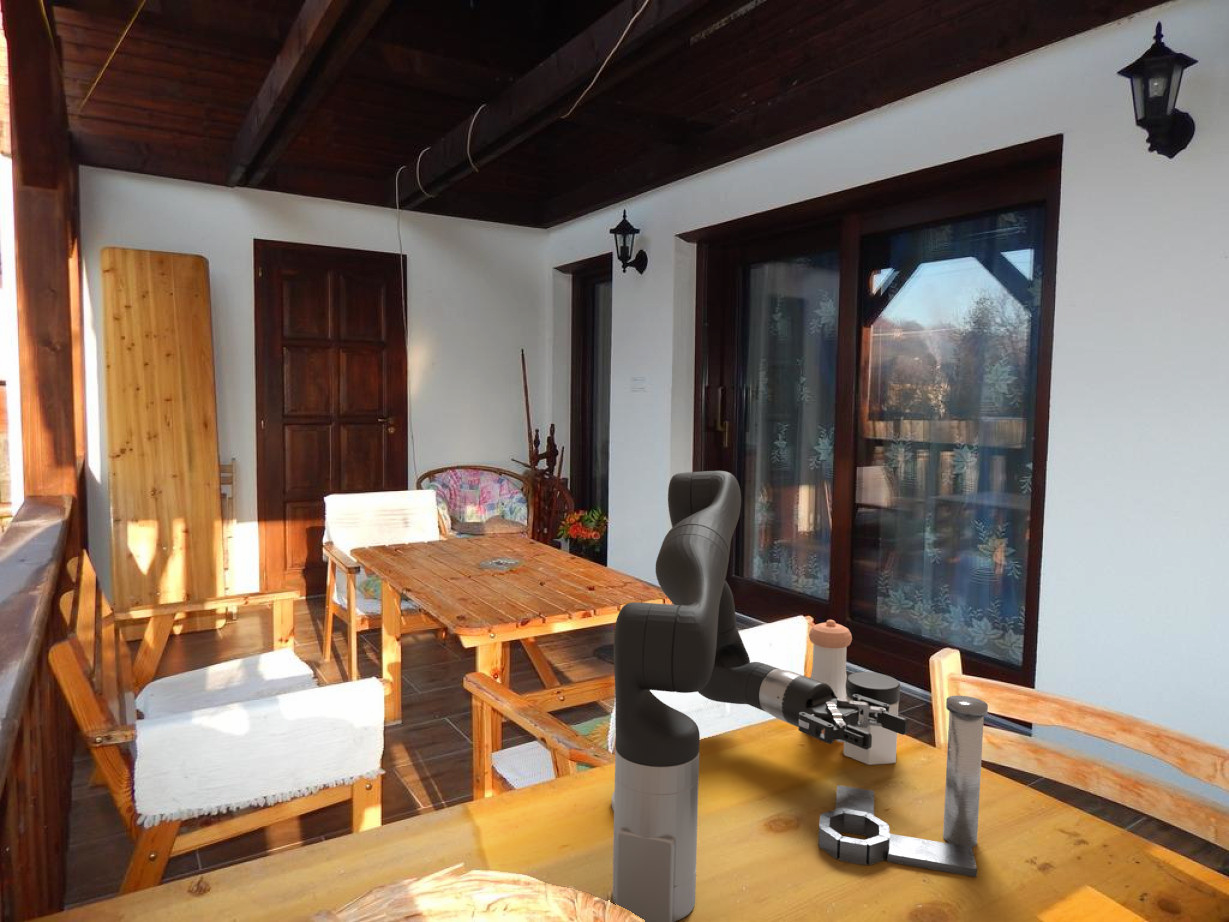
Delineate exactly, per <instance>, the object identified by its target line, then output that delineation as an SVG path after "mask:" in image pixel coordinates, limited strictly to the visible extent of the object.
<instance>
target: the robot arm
mask: <svg viewBox="0 0 1229 922" xmlns="http://www.w3.org/2000/svg"><path fill="white" fill-rule="evenodd" d="M667 489H668V491H667V492H668V493H667V506H668V514H669V518H670V524H671V528H670V530H669V531H668V532H667V534H666V535H665V537H664V538H663V541H662V543H661V547H660V548H659V552H658V554H657V557H656V561H655V576H656V580H657V582H658V585H659V587H660V588H661V590H662V592H663V593H664V595H665V596H666V597H667V598H668V599H669V601H670V602H671V603H672V604H667V603H655V602H654V603H652V602H651V603H650V602H639V601H638V602H635V601H634V602H629V603H626V604H625V605H624V606H622V607H621V609H620V610H619V612H618V615H617V618H616V621H615V625H614V633H613V635H614V636H613V669H614V671H613V672H614V693H615V694H614V695H615V698H614V699H615V708H614V709H615V710H614V712H615V715H614V716H615V717H614V719H615V720H614V721H615V723H614V724H615V727H614V729H615V741H614V742H615V746H614V747H615V748H614V749H615V750H614V751H615V754H614V755H615V759H614V791H615V793H614V811H613V842H612V843H613V846H612V847H613V848H612V849H613V852H612V853H613V854H612V855H613V857H612V900H613V904H614V903H616V904H617V905H619V906H621V907H623V908H625V909H627V910H629V911H631V912H632V913H634V914H635V915H637V916H639V917H640V918H642V919H644V920H645V922H677V921H679V920H682V919H684V918H685V917H686V916H688V915H689V914H691V912H692V911H693V910H694V907H695V904H696V893H697V892H696V888H697V887H696V886H697V885H696V884H697V851H698V850H697V849H698V848H697V847H698V846H697V845H698V811H699V810H698V809H699V808H698V806H699V805H698V804H699V773H700V770H699V769H700V741H701V740H700V739H701V738H700V734H701V733H700V730H699V727H698V725H697V723H696V722H695V720H694V719H692V717H690V716H689V715H687V714H685V713H684V712H681V711H679V710H677V709H675V708H674V707H671V706H669V705H668V704H666V703H664V702H663V701H661V700H660V699H659V698H658V697H657V696H656V695H654V693H653V692H652V691H656V692H657V691H661V692H670V693H675V692H676V693H679V694H680V693H681V694H682V693H683V694H688V693H689V694H690V693H698V694H700V695H701V696H702V697H704V698H706V699H708V700H710V701H714V702H718V703H719V702H720V703H725V704H735V705H748V706H751V707H753V708H755V709H758V710H760V711H763V712H765V713H768V714H769V715H771V716H772V717H774V718H776V719H778V720H780V721H783V722H785V723H788V725H789V724H790V725H793V726H795V727H796V728H798V731H799V732H801V733H803V734H805V735H807V736H810V737H812V738H814V739H817V740H818V741H820V742H823V743H825V744H828V745H832V744H834V741H836V742H839V743H844V742H845V741H846V742H848V743H851V744H853V745H856V746H858V747H860V748H863V749H865V750H867V749H869V748H871V745H872V735H871V734H870V733H869V732H867V731H864V730H861V729H859V728H856V727H861V728H867V727H868V726H869V725H873V726H881V727H883V728H886V729H888V730H891V731H894V732H896V733H897V734H899V735H901V736H903V735H906V734H908V733H909V721H908V719H907V718H905V717H903V716H899V715H898V716H897V715H894V714H892V713H889V704H886V703H883V702H880V701H877V700H873V699H870V698H867V697H864V696H861V695H858V694H854V695H853V700H852V701H850V700H848V699H846V698H837V697H836V695H835V694H834V692H833V690H832V688H831V687H830V686H829V685H828V684H826V683H823V682H820V681H817V680H815V679H812V678H811V677H808V676H806V675H802V674H801V673H800V674H799V673H797V672H794V671H791V670H785V669H780V668H778V667H776V666H772V665H769V664H766V663H763V662H760V661H751V660H750V656H749V654H748V652H747V649H746V646H745V644H744V642H743V639H742V637H741V634H740V632H739V630H738V628H737V619H736V618H737V617H736V608H735V601H734V600H735V599H734V595H733V592H732V590H731V587H730V585H729V584H728V582H727V580H726V579H727V578H726V577H727V573H728V567H729V562H730V552H731V543H732V538H733V535H734V532H735V530H736V527H737V524H738V521H739V519H740V514H741V507H742V506H741V505H742V494H741V488H740V484H739V481H738V479H737V478H736V477H735V475H734V474H732V473H731V472H728V471H726V470H725V471H724V470H706V471H705V470H704V471H690V472H679V473H676V474H674V475H673V476H672V477H671V478H670V480H669V484H668V487H667ZM860 714H861V715H863V719H862V720H861V721H859V715H860ZM869 717H870V718H873V719H869ZM874 719H876V720H874ZM823 729H825V734H822V732H821V731H822V730H823Z"/></svg>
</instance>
